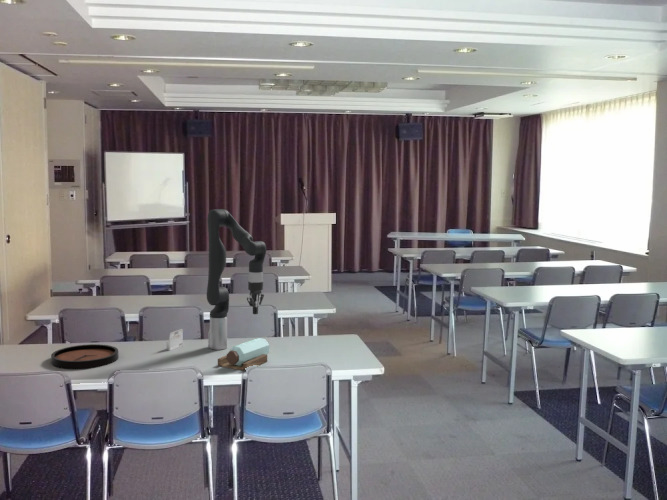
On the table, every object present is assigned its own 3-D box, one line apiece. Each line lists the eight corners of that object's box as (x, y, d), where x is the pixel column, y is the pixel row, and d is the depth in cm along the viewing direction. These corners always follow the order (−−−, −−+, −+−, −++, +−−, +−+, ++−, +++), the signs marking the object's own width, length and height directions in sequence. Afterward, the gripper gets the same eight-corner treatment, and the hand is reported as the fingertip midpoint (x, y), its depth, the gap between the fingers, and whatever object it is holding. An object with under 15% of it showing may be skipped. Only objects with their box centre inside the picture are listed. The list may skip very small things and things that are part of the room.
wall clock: (98, 341, 334) (130, 352, 314) (98, 348, 335) (130, 360, 315) (39, 352, 311) (70, 365, 290) (39, 360, 311) (70, 374, 291)
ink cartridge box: (166, 350, 333) (166, 332, 332) (179, 345, 343) (179, 328, 342) (169, 350, 332) (169, 332, 331) (183, 346, 342) (183, 328, 341)
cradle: (217, 365, 307) (217, 358, 307) (238, 356, 323) (238, 350, 323) (247, 371, 300) (247, 364, 299) (267, 361, 316) (267, 354, 315)
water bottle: (267, 359, 323) (235, 372, 301) (253, 349, 327) (221, 361, 306) (273, 343, 320) (242, 354, 298) (259, 333, 324) (227, 343, 303)
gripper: (256, 278, 324) (256, 310, 326) (242, 281, 312) (241, 315, 314) (268, 279, 321) (268, 312, 323) (254, 283, 309) (254, 317, 311)
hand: (255, 314), depth 319 cm, fingers closed
